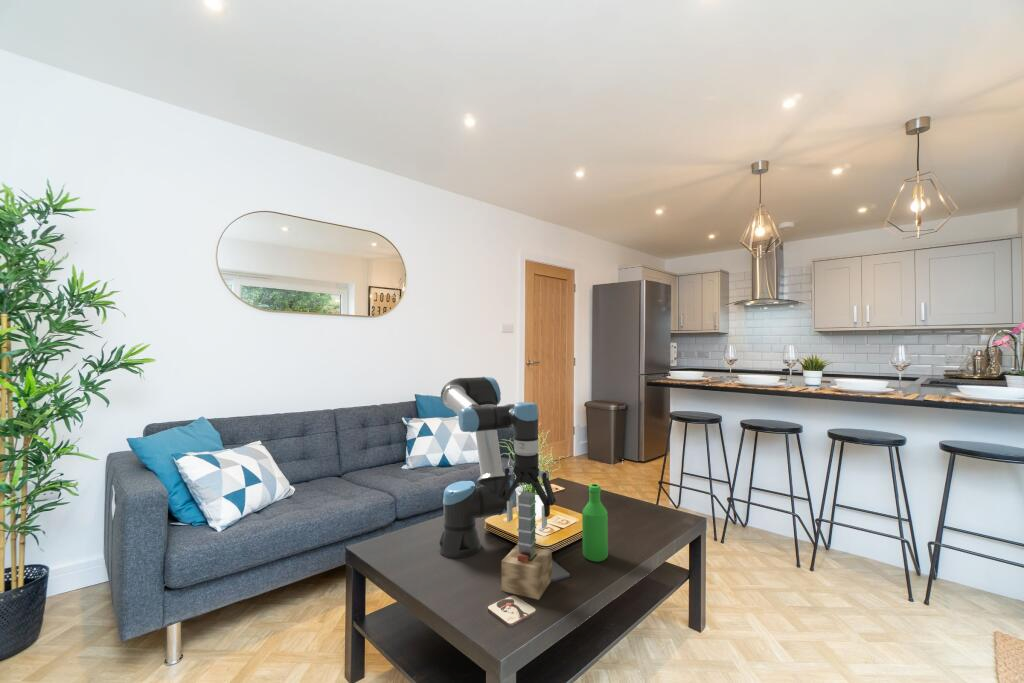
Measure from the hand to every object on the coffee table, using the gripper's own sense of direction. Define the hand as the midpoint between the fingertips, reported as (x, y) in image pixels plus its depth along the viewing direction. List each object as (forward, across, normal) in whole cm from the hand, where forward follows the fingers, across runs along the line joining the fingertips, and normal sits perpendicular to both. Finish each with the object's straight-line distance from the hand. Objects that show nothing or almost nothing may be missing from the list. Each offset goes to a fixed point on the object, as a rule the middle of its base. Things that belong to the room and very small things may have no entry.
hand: (526, 523), depth 137 cm
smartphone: (+20, +3, +12) cm, 23 cm away
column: (+13, 0, 0) cm, 13 cm away
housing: (+19, 0, 0) cm, 19 cm away
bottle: (+19, +15, +26) cm, 36 cm away
